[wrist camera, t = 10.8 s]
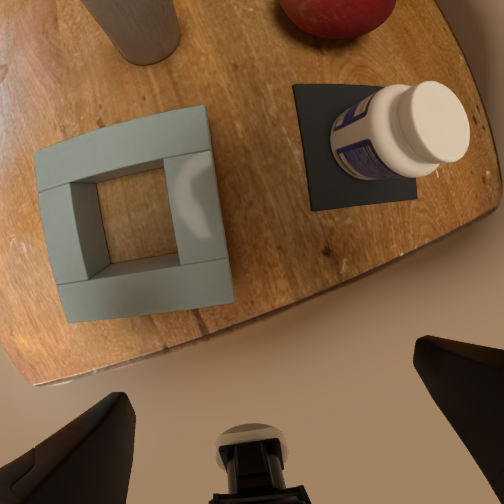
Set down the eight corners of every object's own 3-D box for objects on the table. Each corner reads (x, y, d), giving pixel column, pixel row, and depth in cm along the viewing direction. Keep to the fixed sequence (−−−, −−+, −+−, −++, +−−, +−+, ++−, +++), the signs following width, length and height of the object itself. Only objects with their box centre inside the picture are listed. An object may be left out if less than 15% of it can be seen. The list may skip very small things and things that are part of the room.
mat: (414, 198, 20) (417, 199, 20) (311, 211, 20) (312, 211, 19) (398, 89, 18) (400, 88, 18) (292, 86, 18) (293, 84, 17)
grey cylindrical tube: (181, 59, 17) (153, -32, 7) (120, 71, 16) (55, -1, 6) (180, 13, 16) (161, -79, 6) (123, 25, 15) (75, -54, 5)
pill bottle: (396, 177, 19) (483, 177, 11) (334, 182, 19) (411, 180, 10) (385, 109, 18) (465, 77, 10) (322, 108, 18) (388, 60, 9)
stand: (232, 281, 20) (235, 302, 16) (90, 301, 19) (67, 323, 15) (208, 121, 18) (205, 103, 14) (63, 157, 17) (33, 152, 13)
